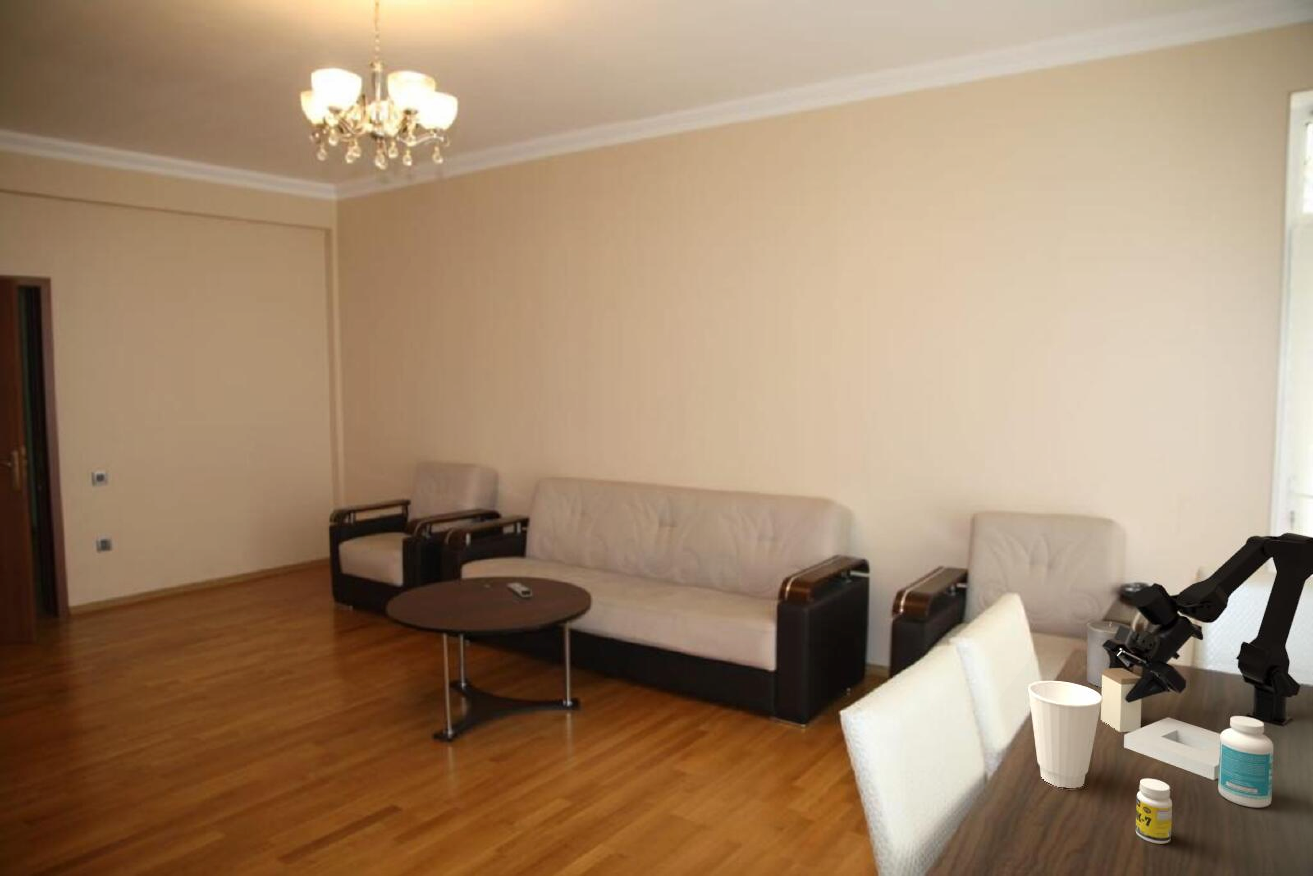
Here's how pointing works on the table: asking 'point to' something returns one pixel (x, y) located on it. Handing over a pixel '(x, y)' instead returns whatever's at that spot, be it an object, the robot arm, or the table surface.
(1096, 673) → the pillar candle
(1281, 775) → the table surface
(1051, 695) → the cup
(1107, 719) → the tan topped cream pillar
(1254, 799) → the pill bottle
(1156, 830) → the supplement bottle
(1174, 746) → the socket plate
